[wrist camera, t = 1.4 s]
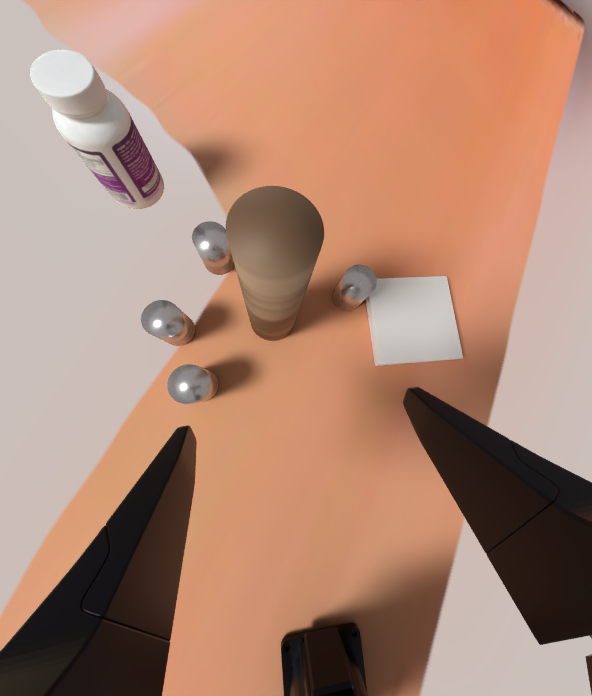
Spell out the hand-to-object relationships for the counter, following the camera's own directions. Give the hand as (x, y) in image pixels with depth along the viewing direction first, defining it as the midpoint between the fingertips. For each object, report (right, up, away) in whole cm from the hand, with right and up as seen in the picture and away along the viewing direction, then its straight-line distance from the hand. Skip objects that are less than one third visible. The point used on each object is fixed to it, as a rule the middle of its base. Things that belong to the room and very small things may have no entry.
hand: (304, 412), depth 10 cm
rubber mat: (+12, +5, +16) cm, 21 cm away
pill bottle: (-17, +19, +16) cm, 30 cm away
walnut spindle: (-3, +6, +15) cm, 16 cm away
